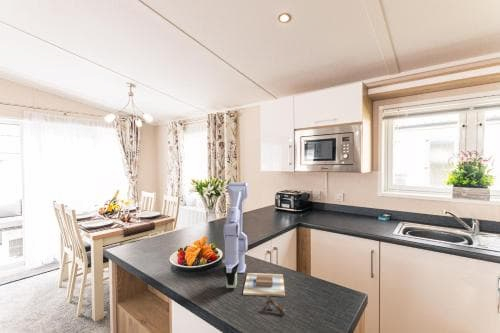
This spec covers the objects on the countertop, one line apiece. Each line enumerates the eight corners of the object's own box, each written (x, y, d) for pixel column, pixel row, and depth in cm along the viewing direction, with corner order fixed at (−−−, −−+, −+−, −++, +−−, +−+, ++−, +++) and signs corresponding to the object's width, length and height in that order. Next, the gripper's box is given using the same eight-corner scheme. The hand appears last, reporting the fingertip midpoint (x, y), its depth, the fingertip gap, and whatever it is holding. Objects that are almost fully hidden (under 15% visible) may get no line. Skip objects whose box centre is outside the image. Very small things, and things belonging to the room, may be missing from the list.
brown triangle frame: (264, 302, 91) (268, 293, 90) (281, 319, 86) (286, 309, 85) (262, 305, 89) (266, 295, 88) (279, 321, 85) (283, 312, 84)
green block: (227, 282, 106) (227, 271, 105) (236, 283, 105) (236, 271, 105) (226, 287, 102) (226, 275, 101) (235, 288, 101) (235, 276, 101)
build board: (247, 274, 116) (247, 268, 116) (282, 276, 114) (282, 269, 114) (243, 294, 98) (243, 287, 98) (285, 296, 96) (285, 289, 96)
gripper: (225, 244, 111) (225, 274, 111) (218, 256, 96) (218, 290, 96) (240, 245, 110) (240, 274, 110) (236, 257, 96) (236, 291, 96)
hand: (231, 282), depth 103 cm, fingers closed on green block, 4 cm apart
